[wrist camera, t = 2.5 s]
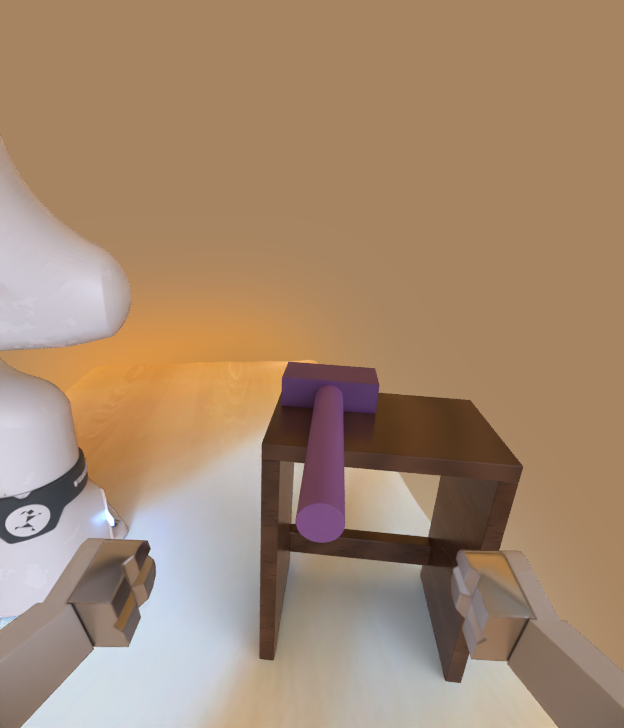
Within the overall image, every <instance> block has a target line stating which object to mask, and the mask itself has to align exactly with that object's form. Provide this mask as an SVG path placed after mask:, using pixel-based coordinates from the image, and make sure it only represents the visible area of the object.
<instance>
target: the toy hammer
mask: <svg viewBox="0 0 624 728" xmlns="http://www.w3.org/2000/svg"><path fill="white" fill-rule="evenodd" d="M378 392H379V382H378V378H377V374H376V371H375V368H362V367H349V366H337V365H336V366H335V365H324V364H311V363H298V362H288V365H287V367H286V369H285V372H284V374H283V377H282V400H281V406H286V407H298V408H310V409H313V414H312V421H311V427H310V433H309V440H308V446H307V452H306V458H305V465H304V471H303V477H302V484H301V490H300V496H299V502H298V509H297V515H296V526H297V529H298V531H299V532H300V533H301V535H302V536H304V537H305V538H307V539H308V540H311V541H314V542H319V543H325V542H330V541H333V540H335V539H336V538H338V537H339V536H340V535H341V534H342V532H343V530H344V528H345V489H344V425H343V411H347V412H359V413H371V414H376V408H377V400H378Z"/></svg>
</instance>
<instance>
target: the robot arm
mask: <svg viewBox="0 0 624 728" xmlns="http://www.w3.org/2000/svg"><path fill="white" fill-rule="evenodd" d="M130 305H131V290H130V285H129V281H128V279H127V276H126V274H125V273H124V270H123V269H122V267H121V266H120V264H119V263H118V262H117V260H116V259H115V258H114V257H113V256H112V255H111V254H110V253H109V252H108V251H107V250H105V249H104V248H103V247H101V246H99V245H97V244H95V243H93V242H91V241H89V240H87V239H85V238H83V237H82V236H81V235H79V234H77V233H76V232H74V231H73V230H71V229H70V228H69V227H68V226H66V225H65V224H64V223H62V222H61V221H60V220H59V219H58V218H57V217H56V216H55V215H53V214H52V213H51V212H50V211H49V210H48V209H47V208H46V207H45V206H44V205H43V204H42V203H41V201H40V200H39V199H38V198H37V197H36V196H35V195H34V194H33V192H32V191H31V190H30V188H29V187H28V186H27V184H26V183H25V182H24V180H23V179H22V177H21V176H20V174H19V173H18V171H17V169H16V168H15V166H14V164H13V162H12V160H11V158H10V156H9V154H8V152H7V149H6V147H5V144H4V142H3V140H2V138H1V135H0V351H5V350H22V349H41V348H58V347H69V346H73V345H78V344H83V343H88V342H92V341H96V340H100V339H105V338H108V337H112V336H114V335H115V334H116V333H117V332H118V330H120V328H121V327H122V326H123V324H124V323H125V321H126V319H127V316H128V313H129V311H130ZM127 533H128V530H127V526H126V524H125V523H124V522H123V520H122V519H121V518H120V517H119V515H118V514H117V513H116V512H115V510H114V509H113V508H112V507H111V505H110V504H109V503H108V502H107V500H106V497H105V492H104V490H103V488H99V486H98V485H97V484H96V483H95V482H94V481H93V480H92V479H91V478H90V477H89V476H88V473H87V463H86V459H85V457H84V454H83V451H82V449H81V448H80V447H78V444H77V438H76V432H75V427H74V421H73V415H72V410H71V404H70V401H69V399H68V398H67V396H66V395H65V394H64V393H63V392H62V391H61V390H60V389H59V388H58V387H57V386H55V385H54V384H53V383H51V382H49V381H47V380H44V379H42V378H39V377H36V376H32V375H29V374H26V373H23V372H20V371H18V370H16V369H14V368H13V367H11V366H10V365H8V364H7V363H6V362H4V361H3V360H2V359H1V358H0V617H12V616H18V615H20V616H18V617H17V618H16V619H14V620H13V621H12V622H10V623H9V624H8V625H6V626H5V627H4V628H2V629H1V630H0V728H20V727H21V726H22V725H23V724H24V723H25V722H26V721H27V720H28V719H29V718H30V717H31V716H32V715H33V713H34V712H35V711H36V710H37V709H38V708H39V707H40V706H41V705H42V704H43V703H44V702H45V701H46V700H47V699H48V697H49V696H50V695H51V694H52V693H53V692H54V691H55V690H56V689H57V688H58V687H59V686H60V685H61V684H62V683H63V682H64V680H65V679H66V678H67V677H68V676H69V675H70V674H71V673H72V672H73V671H74V670H75V669H76V668H77V667H78V666H79V664H80V663H81V662H82V661H83V660H84V659H85V658H86V657H87V656H88V655H89V654H90V653H91V652H92V651H93V650H94V648H93V647H129V645H130V642H131V640H132V637H133V635H134V633H135V630H136V628H137V625H138V623H139V621H140V618H141V616H140V612H139V607H140V606H141V605H142V604H143V603H144V602H145V601H147V600H148V599H149V596H150V594H151V591H152V588H153V585H154V580H155V575H156V565H155V562H154V559H152V558H151V557H150V556H148V553H149V551H150V549H151V548H150V546H149V543H148V541H145V540H122V539H123V538H124V537H125V536H126V535H127ZM456 560H457V563H458V565H457V566H456V567H455V568H453V569H452V573H451V592H452V597H453V601H454V604H455V608H456V610H457V611H458V612H459V613H460V614H461V615H462V616H463V617H464V618H465V620H464V623H463V626H462V631H463V634H464V637H465V640H466V644H467V647H468V650H469V653H470V656H471V659H476V660H492V661H507V662H508V663H507V664H508V665H509V667H510V668H511V669H512V670H513V672H514V673H515V674H516V675H517V677H518V678H519V679H520V680H521V682H522V683H523V684H524V685H525V687H526V688H527V689H528V690H529V691H530V693H531V694H532V695H533V696H534V698H535V699H536V700H537V701H538V703H539V704H540V705H541V706H542V708H543V709H544V710H545V711H546V713H547V714H548V715H549V716H550V718H551V719H552V720H553V721H554V723H555V724H556V725H557V726H558V728H624V671H623V670H622V669H621V668H619V667H618V666H617V665H616V664H615V663H614V662H613V661H612V660H610V659H609V658H608V657H607V656H606V655H604V653H602V652H601V651H600V650H599V649H598V648H597V647H596V646H594V645H593V644H592V643H591V642H590V641H589V640H588V639H587V638H585V637H584V636H583V635H582V634H581V633H580V632H579V631H577V630H576V629H575V628H574V627H573V626H572V625H571V624H569V623H568V622H567V621H565V620H559V618H558V616H557V615H556V613H555V611H554V609H553V607H552V605H551V603H550V601H549V600H548V598H547V596H546V595H545V592H544V590H543V588H542V586H541V585H540V583H539V581H538V579H537V577H536V575H535V573H534V572H533V570H532V568H531V566H530V564H529V562H528V560H527V559H526V557H525V555H524V554H523V553H522V552H520V551H499V550H470V549H461V550H459V551H458V553H457V556H456Z"/></svg>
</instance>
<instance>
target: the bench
mask: <svg viewBox="0 0 624 728" xmlns="http://www.w3.org/2000/svg"><path fill="white" fill-rule="evenodd" d="M281 400H282V392H281V395H280V397H279V400H278V403H277V405H276V408H275V410H274V413H273V416H272V418H271V421H270V423H269V426H268V429H267V431H266V434H265V437H264V439H263V442H262V472H261V561H260V650H259V658H260V659H266V660H274V657H275V651H276V644H277V638H278V631H279V625H280V619H281V612H282V606H283V600H284V593H285V587H286V581H287V574H288V568H289V562H290V551H291V552H301V553H310V554H320V555H330V556H339V557H349V558H359V559H368V560H378V561H388V562H397V563H407V564H417V565H422V570H421V579H422V584H423V588H424V592H425V596H426V601H427V605H428V609H429V613H430V617H431V622H432V626H433V630H434V634H435V639H436V643H437V647H438V651H439V655H440V660H441V664H442V668H443V672H444V677H445V681H449V682H458V683H461V680H462V676H463V673H464V669H465V666H466V663H467V659H468V656H469V650H468V647H467V644H466V640H465V637H464V634H463V631H462V626H463V623H464V620H465V618H464V617H463V616H462V615H461V614H460V613H459V612H458V611H457V610H456V608H455V604H454V601H453V597H452V592H451V573H452V569H453V568H455V567H456V566H457V565H458V563H457V560H456V556H457V553H458V551H459V550H461V549H470V550H499V549H500V545H501V541H502V538H503V534H504V531H505V528H506V524H507V521H508V517H509V514H510V511H511V507H512V503H513V500H514V497H515V493H516V490H517V486H518V482H519V479H520V476H521V472H522V469H523V466H522V464H521V463H520V462H519V461H518V459H517V458H516V457H515V456H514V454H513V453H512V452H511V451H510V449H509V448H508V447H507V446H506V445H505V443H504V442H503V441H502V440H501V438H500V437H499V436H498V435H497V433H496V432H495V431H494V429H493V428H492V427H491V426H490V424H489V423H488V422H487V421H486V419H485V418H484V417H483V416H482V414H481V413H480V412H479V411H478V409H477V408H476V407H475V406H474V405H473V403H472V402H471V401H470V400H461V399H449V398H436V397H424V396H411V395H399V394H386V393H378V400H377V408H376V414H371V413H359V412H347V411H343V425H344V467H352V468H363V469H374V470H385V471H396V472H407V473H418V474H429V475H440V476H441V477H440V482H439V487H438V492H437V497H436V502H435V506H434V512H433V517H432V521H431V526H430V531H429V536H428V537H420V536H410V535H400V534H390V533H380V532H370V531H360V530H350V529H344V530H343V532H342V534H341V535H340V536H339V537H338V538H336V539H335V540H333V541H330V542H325V543H319V542H314V541H311V540H308V539H307V538H305V537H304V536H302V535H301V533H300V532H299V531H298V529H297V526H296V524H291V519H292V497H293V475H294V462H297V463H305V458H306V452H307V446H308V440H309V433H310V427H311V421H312V414H313V409H310V408H298V407H286V406H281Z"/></svg>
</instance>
